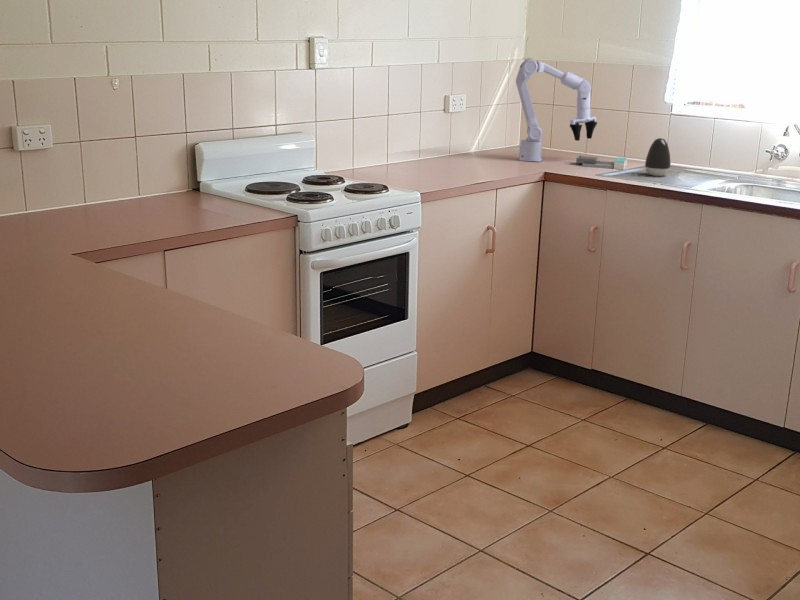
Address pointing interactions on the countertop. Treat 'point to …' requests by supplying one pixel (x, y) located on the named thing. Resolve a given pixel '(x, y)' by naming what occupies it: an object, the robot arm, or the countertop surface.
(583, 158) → the trolley
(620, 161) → the dock
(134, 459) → the countertop surface
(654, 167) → the dark egg-shaped dome
